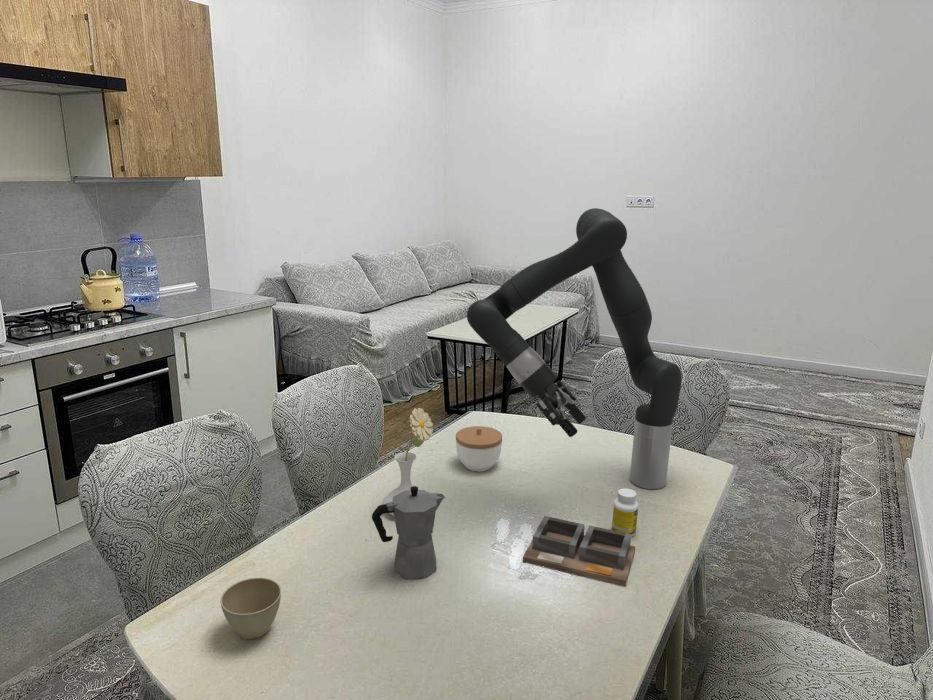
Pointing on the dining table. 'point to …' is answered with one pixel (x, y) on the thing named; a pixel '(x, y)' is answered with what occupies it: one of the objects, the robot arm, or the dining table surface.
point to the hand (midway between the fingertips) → (578, 427)
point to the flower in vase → (405, 459)
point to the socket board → (581, 550)
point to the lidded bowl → (478, 447)
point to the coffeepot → (411, 531)
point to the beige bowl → (251, 606)
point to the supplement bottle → (625, 512)
